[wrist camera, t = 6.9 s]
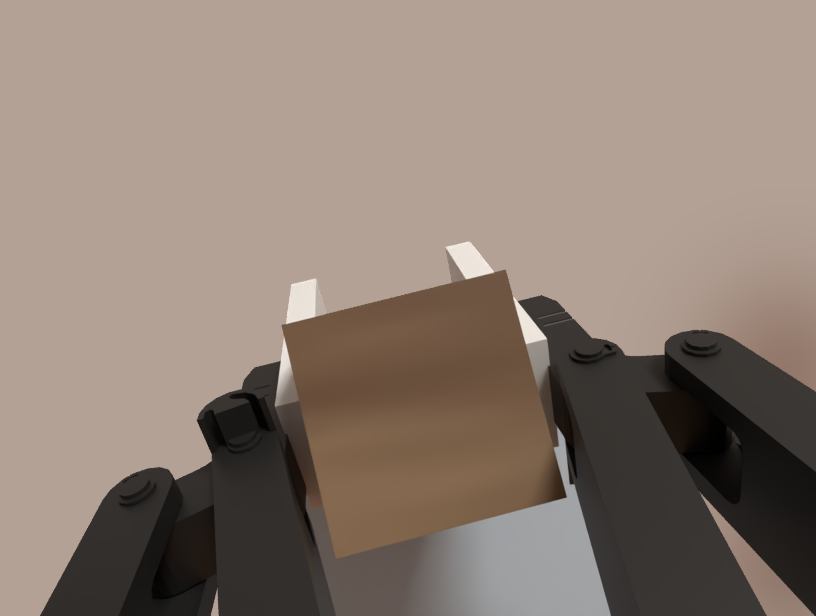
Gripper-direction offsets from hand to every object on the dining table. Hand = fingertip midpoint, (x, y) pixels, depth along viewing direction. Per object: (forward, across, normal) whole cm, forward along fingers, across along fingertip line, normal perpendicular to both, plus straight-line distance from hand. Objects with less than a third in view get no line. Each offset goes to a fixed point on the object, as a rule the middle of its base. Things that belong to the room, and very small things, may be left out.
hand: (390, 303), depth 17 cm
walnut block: (+2, 0, -7) cm, 7 cm away
